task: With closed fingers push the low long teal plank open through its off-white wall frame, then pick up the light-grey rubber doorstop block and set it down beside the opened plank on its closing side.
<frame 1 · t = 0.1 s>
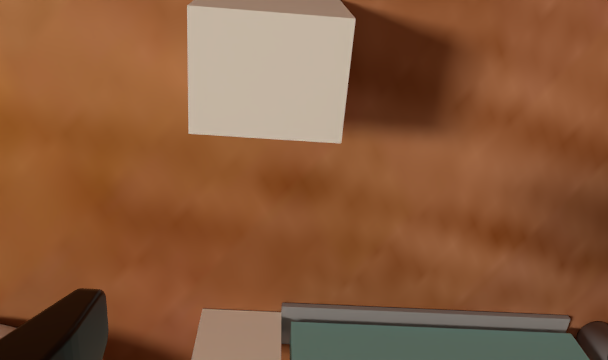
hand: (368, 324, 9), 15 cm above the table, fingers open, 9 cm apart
door frame: (593, 334, 28), on the table
doorstop: (272, 45, 22), on the table
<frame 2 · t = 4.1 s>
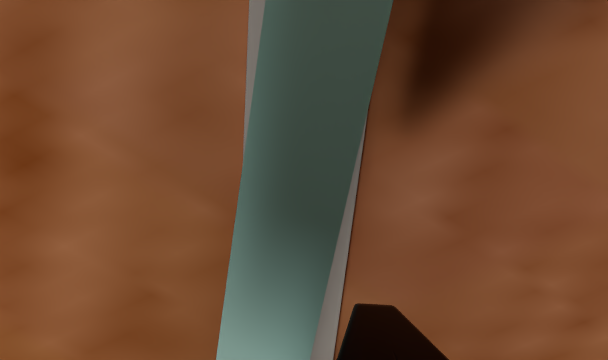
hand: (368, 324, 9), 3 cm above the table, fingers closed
long teal plank: (250, 357, 10), point 3 cm above the table, hinge at 5.1°, touching gripper
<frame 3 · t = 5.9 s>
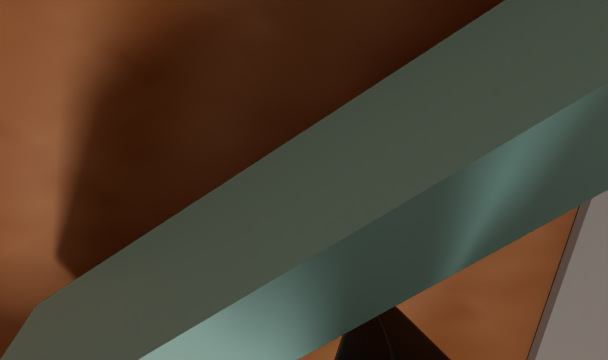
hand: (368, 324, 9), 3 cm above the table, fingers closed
long teal plank: (341, 198, 8), point 3 cm above the table, hinge at 51.0°, touching gripper
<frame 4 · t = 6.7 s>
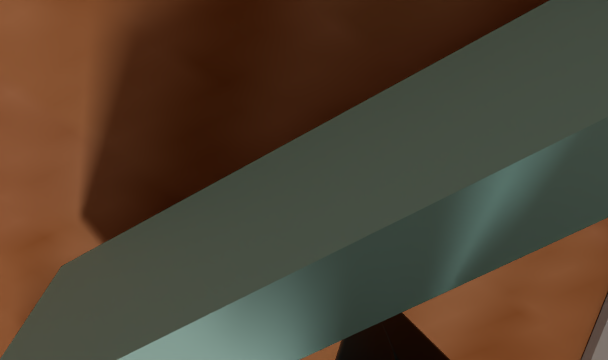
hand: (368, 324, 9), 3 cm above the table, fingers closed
long teal plank: (410, 169, 8), point 3 cm above the table, hinge at 55.5°, touching gripper
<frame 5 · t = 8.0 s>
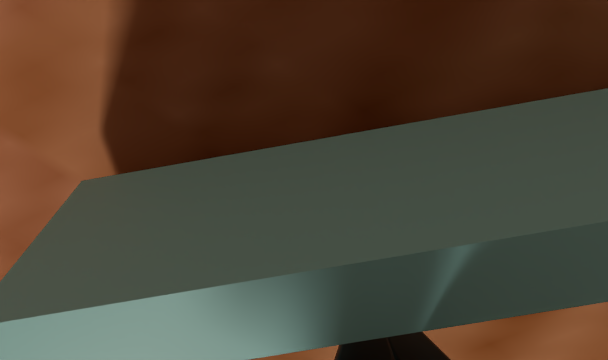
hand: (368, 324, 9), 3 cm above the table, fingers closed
long teal plank: (490, 193, 8), point 3 cm above the table, hinge at 74.9°
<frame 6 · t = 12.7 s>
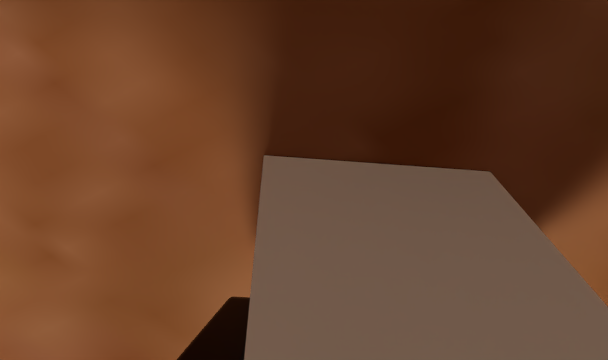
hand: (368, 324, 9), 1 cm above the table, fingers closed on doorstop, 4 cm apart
doorstop: (359, 281, 10), on the table, touching gripper
when the fingers open (3 cm above the table, at t = 16.4 s): doorstop drops 1 cm, on the table.
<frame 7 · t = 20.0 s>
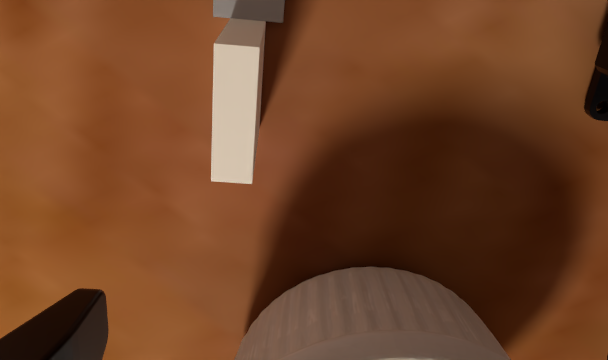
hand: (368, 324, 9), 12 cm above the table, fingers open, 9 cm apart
ramekin: (358, 354, 26), on the table
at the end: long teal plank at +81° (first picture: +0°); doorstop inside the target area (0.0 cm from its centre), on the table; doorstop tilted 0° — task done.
